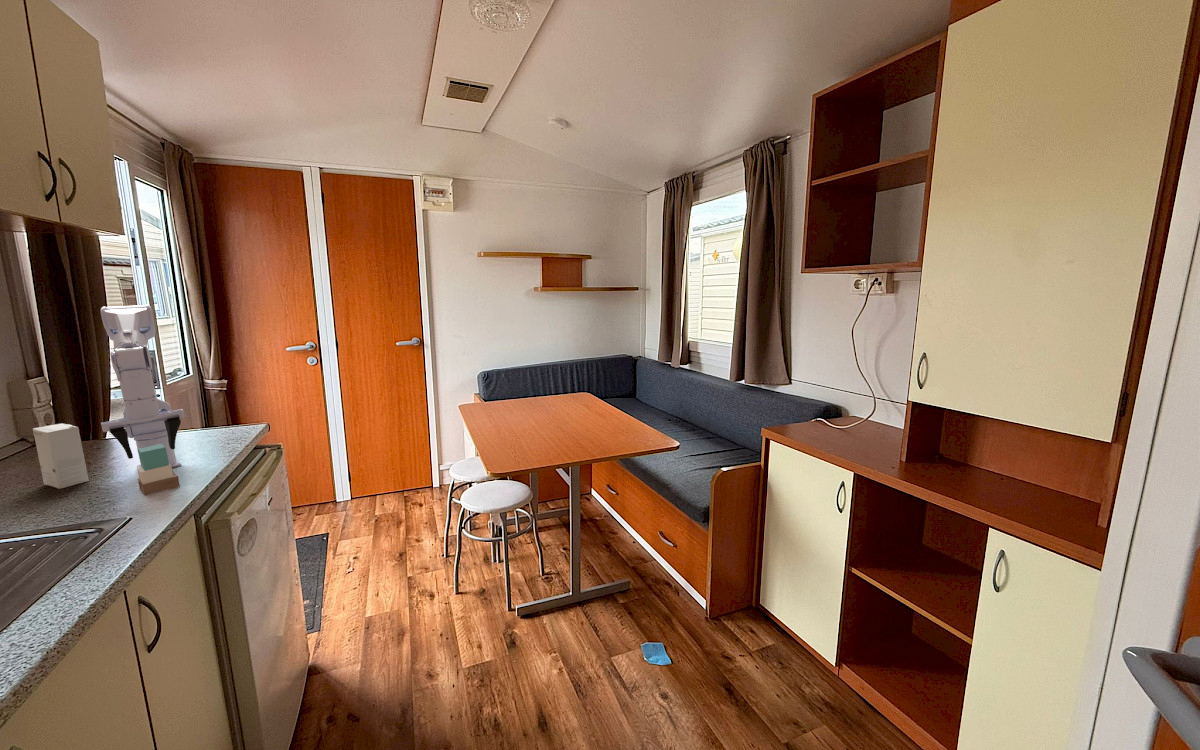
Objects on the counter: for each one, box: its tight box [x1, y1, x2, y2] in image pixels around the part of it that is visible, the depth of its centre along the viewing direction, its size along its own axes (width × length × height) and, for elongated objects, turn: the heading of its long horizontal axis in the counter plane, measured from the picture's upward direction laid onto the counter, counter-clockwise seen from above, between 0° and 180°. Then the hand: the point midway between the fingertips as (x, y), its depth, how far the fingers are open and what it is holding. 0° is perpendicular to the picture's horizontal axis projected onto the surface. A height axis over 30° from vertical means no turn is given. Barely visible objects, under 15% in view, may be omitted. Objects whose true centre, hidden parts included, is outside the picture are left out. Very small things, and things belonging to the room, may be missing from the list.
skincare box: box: [32, 423, 90, 490], centre depth 125 cm, size 8×6×15 cm
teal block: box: [136, 444, 169, 471], centre depth 119 cm, size 4×4×4 cm
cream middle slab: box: [136, 464, 173, 484], centre depth 120 cm, size 6×6×3 cm
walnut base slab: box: [137, 470, 181, 496], centre depth 121 cm, size 6×6×3 cm
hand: (152, 452), depth 119 cm, fingers open, 7 cm apart
